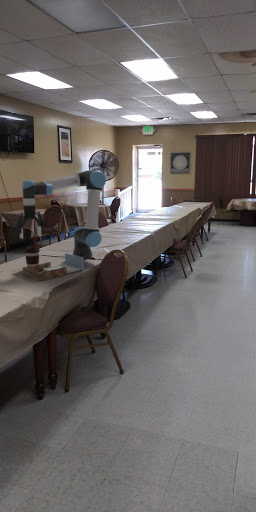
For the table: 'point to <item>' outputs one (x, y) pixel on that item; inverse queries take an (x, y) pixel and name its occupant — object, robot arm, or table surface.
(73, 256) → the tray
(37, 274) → the brown wooden frame
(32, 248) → the coffee cup
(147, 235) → the table surface
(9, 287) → the table surface
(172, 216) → the table surface
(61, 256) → the table surface
